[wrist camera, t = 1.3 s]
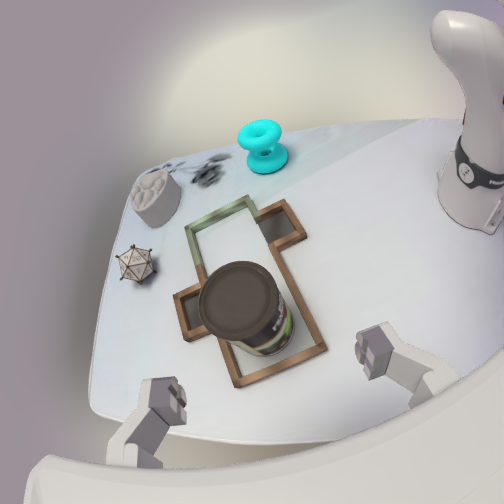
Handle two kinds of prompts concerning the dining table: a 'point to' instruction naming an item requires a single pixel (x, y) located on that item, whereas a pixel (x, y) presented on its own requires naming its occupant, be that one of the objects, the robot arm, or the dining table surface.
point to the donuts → (263, 146)
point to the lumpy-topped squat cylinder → (156, 198)
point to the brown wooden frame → (278, 238)
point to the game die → (135, 264)
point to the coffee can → (246, 309)
